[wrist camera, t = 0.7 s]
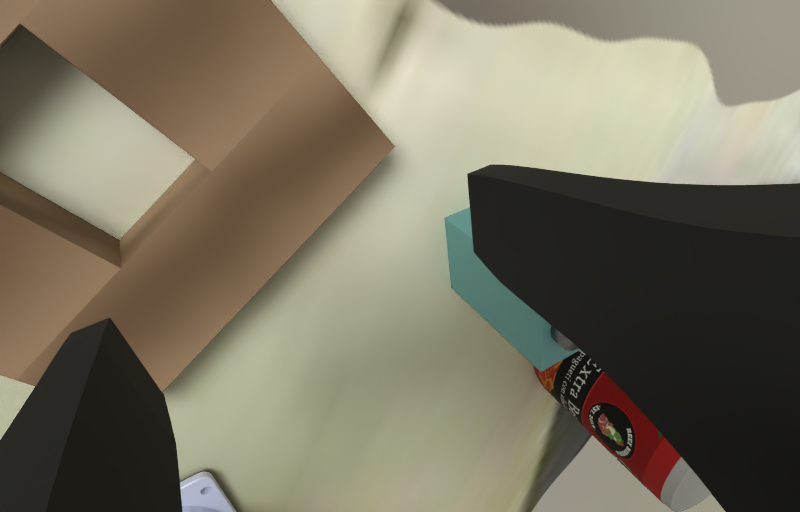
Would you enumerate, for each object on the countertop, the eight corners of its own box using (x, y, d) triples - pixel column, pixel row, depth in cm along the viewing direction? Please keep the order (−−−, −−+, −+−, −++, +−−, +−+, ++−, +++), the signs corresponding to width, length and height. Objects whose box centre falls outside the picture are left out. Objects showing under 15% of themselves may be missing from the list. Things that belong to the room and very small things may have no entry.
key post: (497, 266, 27) (604, 350, 21) (451, 287, 26) (550, 381, 20) (495, 197, 24) (616, 270, 18) (444, 217, 23) (555, 301, 17)
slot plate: (372, 132, 19) (395, 146, 18) (134, 383, 19) (136, 418, 18) (-25, -325, 10) (-49, -375, 9) (-463, 162, 10) (-562, 196, 9)
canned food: (541, 311, 31) (703, 441, 22) (627, 284, 34) (795, 387, 26) (520, 397, 34) (652, 535, 26) (599, 365, 38) (738, 478, 30)
